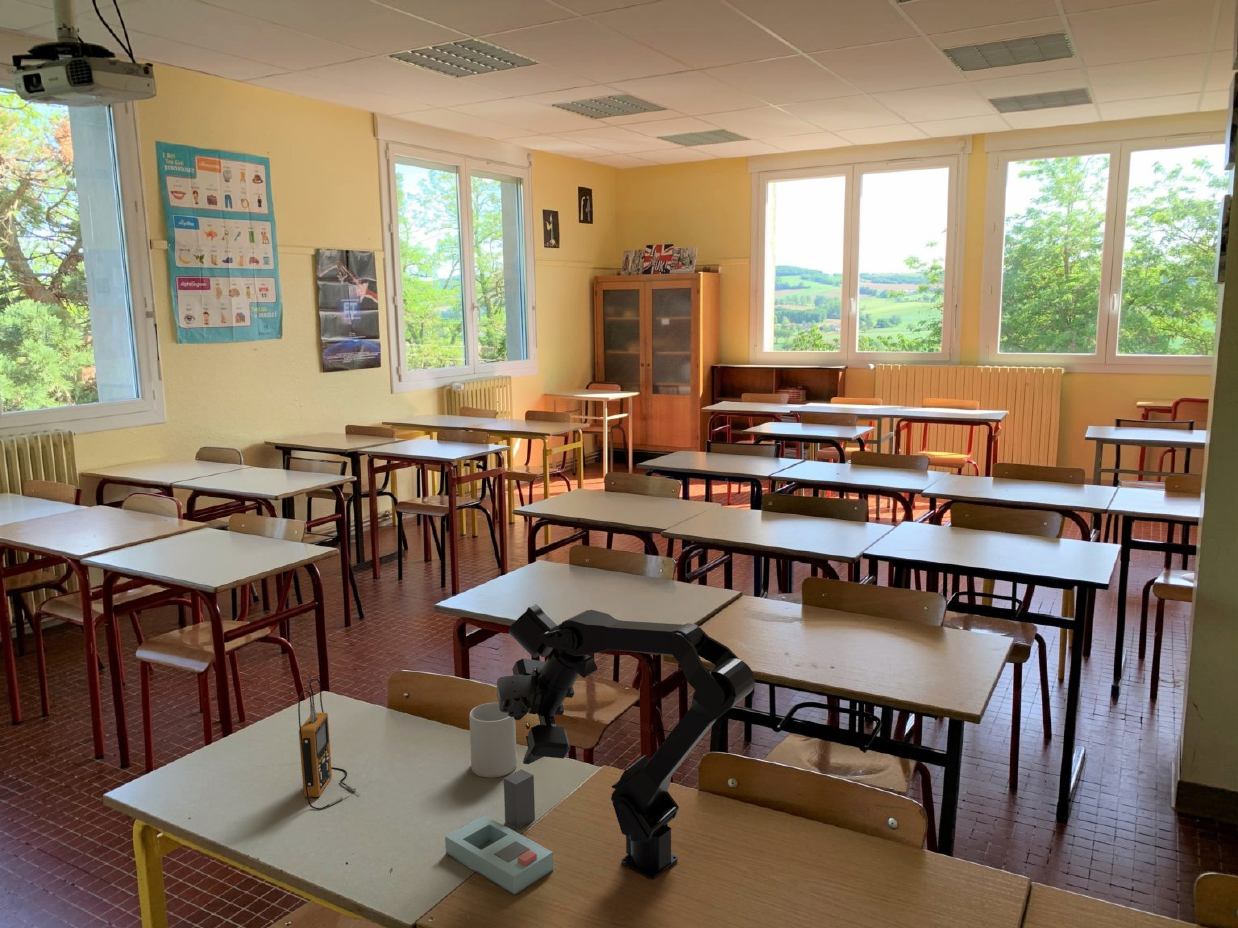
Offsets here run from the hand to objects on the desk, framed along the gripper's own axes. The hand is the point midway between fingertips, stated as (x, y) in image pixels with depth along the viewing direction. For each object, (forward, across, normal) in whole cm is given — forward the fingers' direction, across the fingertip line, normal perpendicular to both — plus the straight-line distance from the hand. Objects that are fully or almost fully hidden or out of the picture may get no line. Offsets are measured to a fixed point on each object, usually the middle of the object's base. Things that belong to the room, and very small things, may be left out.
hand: (521, 740), depth 152 cm
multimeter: (+29, -11, -22) cm, 38 cm away
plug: (+11, +7, +3) cm, 14 cm away
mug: (+20, -12, +6) cm, 24 cm away
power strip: (+9, +17, -3) cm, 19 cm away
